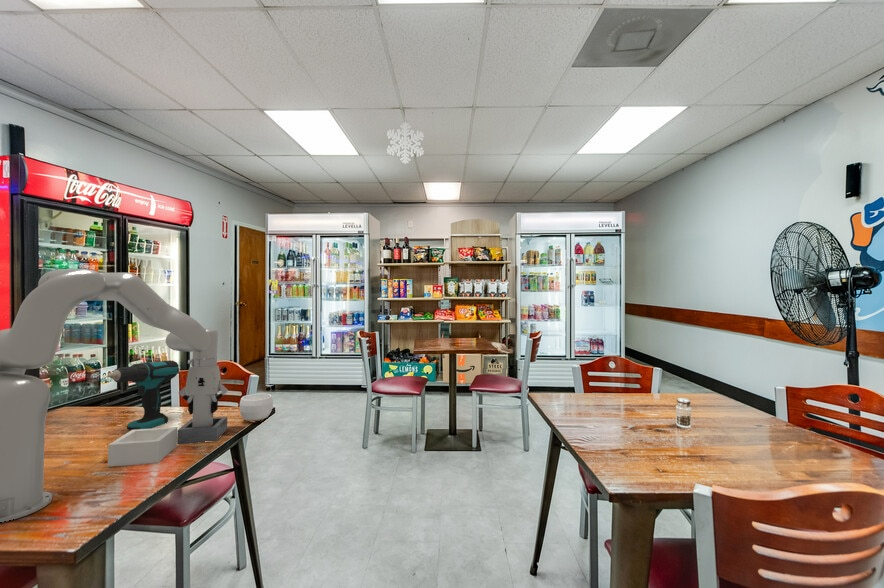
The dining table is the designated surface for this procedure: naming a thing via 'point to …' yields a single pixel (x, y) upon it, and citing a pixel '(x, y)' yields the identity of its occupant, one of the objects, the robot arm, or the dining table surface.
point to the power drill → (148, 388)
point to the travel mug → (202, 407)
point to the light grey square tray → (142, 446)
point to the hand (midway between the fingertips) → (202, 412)
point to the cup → (256, 406)
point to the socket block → (202, 432)
